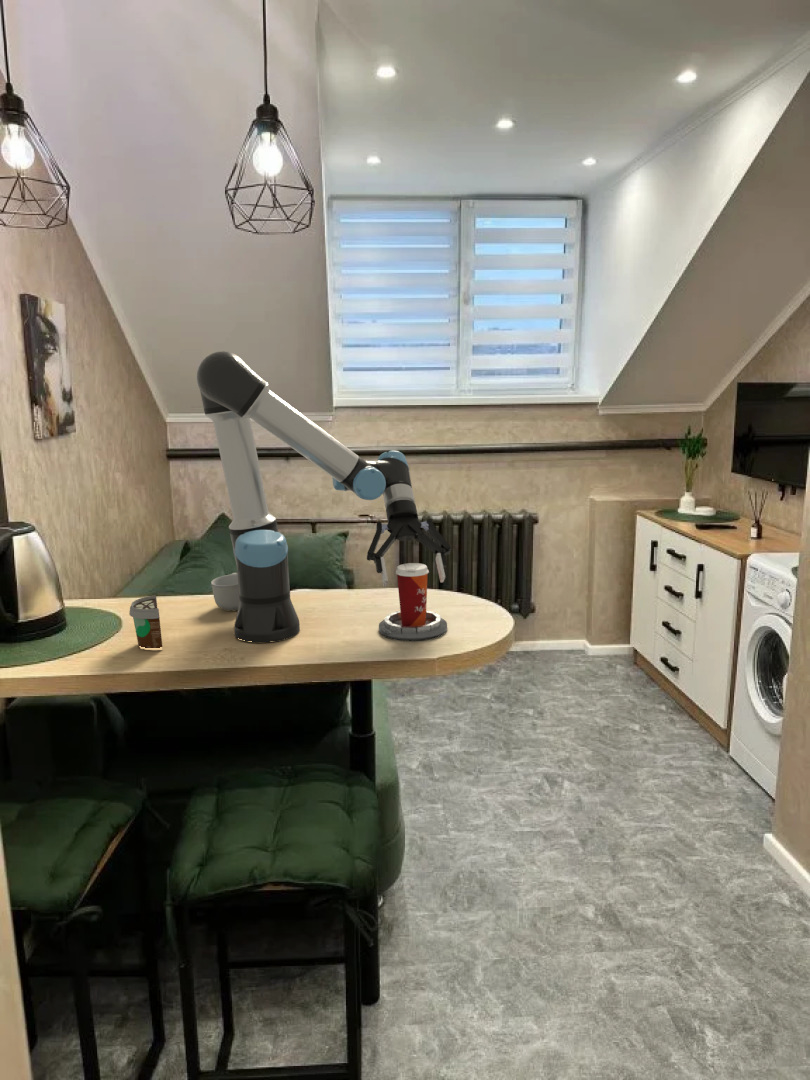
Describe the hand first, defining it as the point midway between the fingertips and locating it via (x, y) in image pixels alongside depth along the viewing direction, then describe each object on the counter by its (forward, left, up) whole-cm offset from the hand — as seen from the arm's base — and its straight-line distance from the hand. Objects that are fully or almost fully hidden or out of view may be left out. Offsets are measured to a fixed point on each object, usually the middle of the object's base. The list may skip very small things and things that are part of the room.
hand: (414, 581), depth 175 cm
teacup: (-49, +15, -11) cm, 53 cm away
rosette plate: (0, -1, -11) cm, 11 cm away
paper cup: (0, -1, -10) cm, 10 cm away
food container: (-59, -15, -11) cm, 62 cm away
